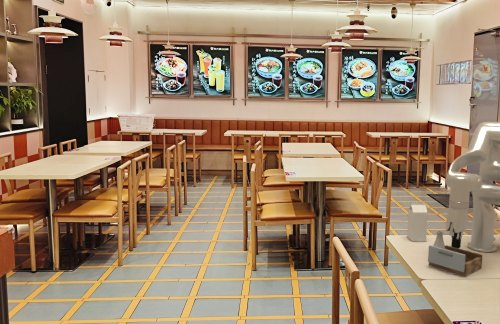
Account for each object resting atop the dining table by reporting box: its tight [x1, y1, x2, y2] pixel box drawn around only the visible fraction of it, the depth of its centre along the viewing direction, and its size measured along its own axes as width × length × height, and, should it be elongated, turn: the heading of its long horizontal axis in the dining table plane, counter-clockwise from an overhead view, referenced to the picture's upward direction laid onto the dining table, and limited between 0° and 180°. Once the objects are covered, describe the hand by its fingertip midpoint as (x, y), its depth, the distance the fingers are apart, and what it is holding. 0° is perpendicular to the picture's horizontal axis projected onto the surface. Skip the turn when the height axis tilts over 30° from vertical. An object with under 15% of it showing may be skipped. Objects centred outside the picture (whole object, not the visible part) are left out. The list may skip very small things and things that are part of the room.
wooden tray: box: [428, 244, 483, 277], centre depth 199 cm, size 14×16×6 cm
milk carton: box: [406, 202, 428, 242], centre depth 235 cm, size 7×7×19 cm
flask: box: [432, 230, 446, 248], centre depth 217 cm, size 7×7×10 cm
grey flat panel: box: [427, 244, 465, 272], centre depth 194 cm, size 2×15×7 cm, turn 39°
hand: (455, 247), depth 198 cm, fingers closed
